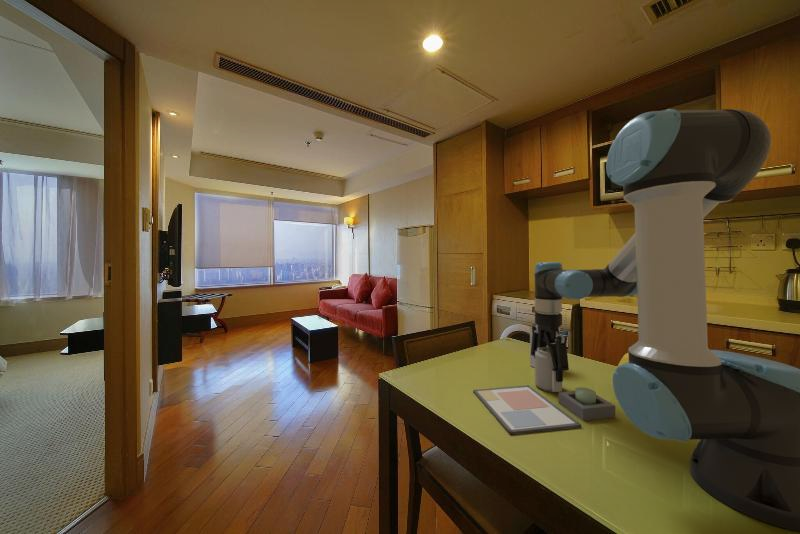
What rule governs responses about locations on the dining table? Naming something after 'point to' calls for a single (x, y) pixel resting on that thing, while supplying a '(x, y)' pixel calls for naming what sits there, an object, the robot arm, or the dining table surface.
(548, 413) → the picture sheet
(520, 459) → the dining table surface
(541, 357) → the can
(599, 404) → the button housing
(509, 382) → the dining table surface
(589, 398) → the button
